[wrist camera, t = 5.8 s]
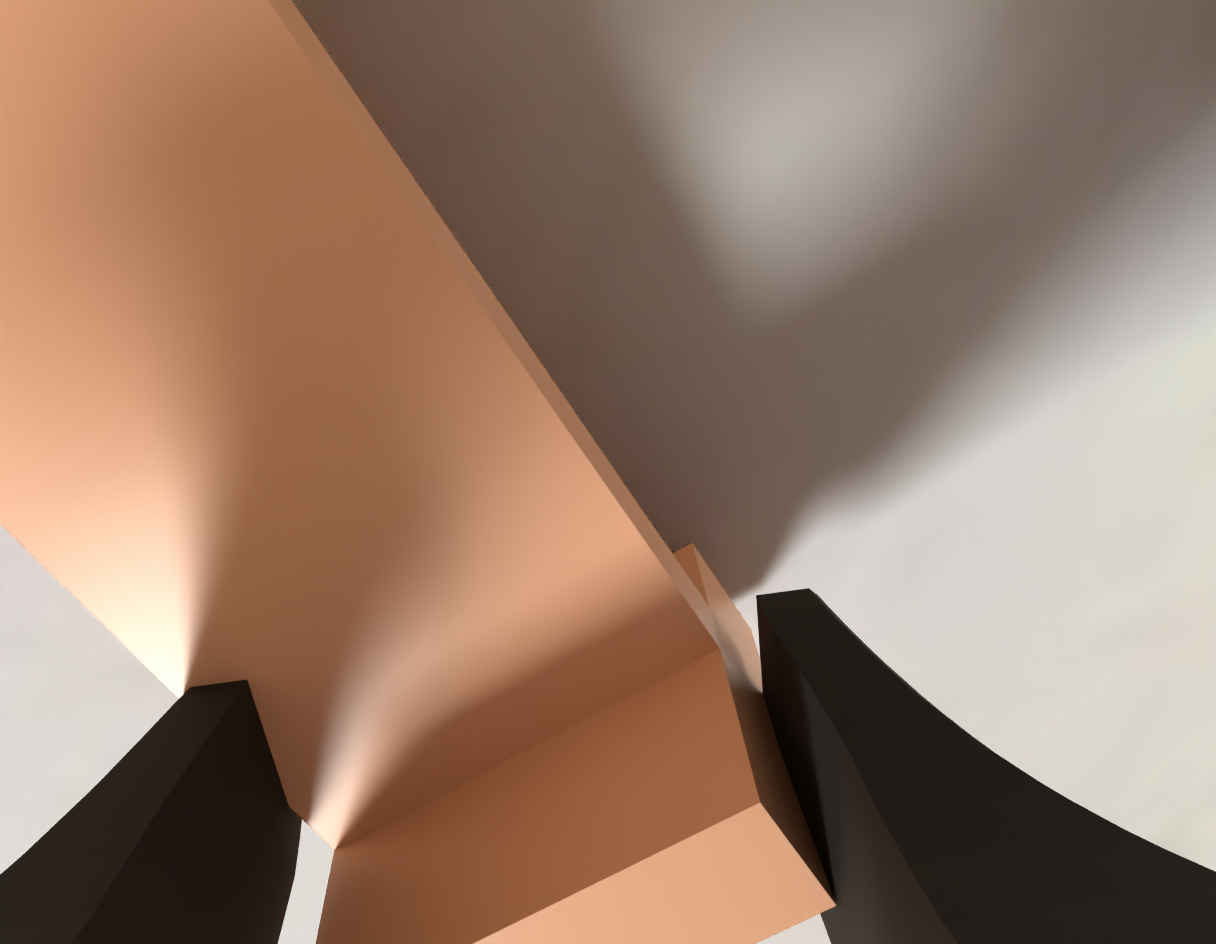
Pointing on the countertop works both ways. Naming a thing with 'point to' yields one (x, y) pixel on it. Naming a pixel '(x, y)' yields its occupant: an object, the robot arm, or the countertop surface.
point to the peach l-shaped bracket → (361, 501)
